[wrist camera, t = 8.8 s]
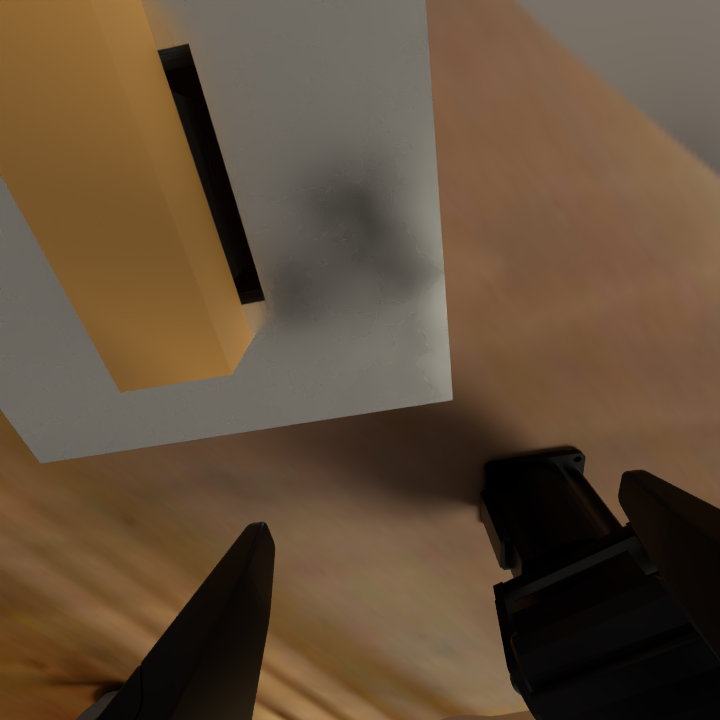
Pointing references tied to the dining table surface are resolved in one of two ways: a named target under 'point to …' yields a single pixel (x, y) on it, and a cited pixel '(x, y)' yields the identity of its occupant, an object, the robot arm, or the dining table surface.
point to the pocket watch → (97, 707)
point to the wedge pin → (122, 190)
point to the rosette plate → (270, 236)
